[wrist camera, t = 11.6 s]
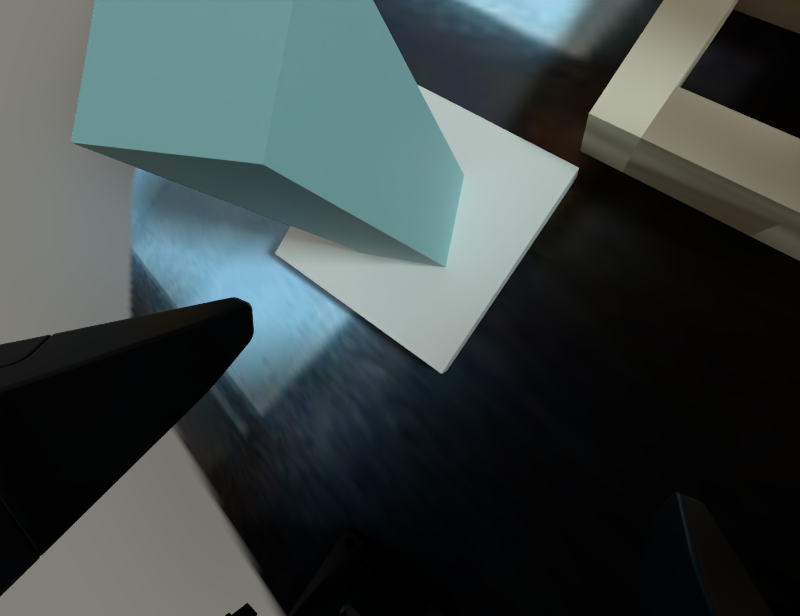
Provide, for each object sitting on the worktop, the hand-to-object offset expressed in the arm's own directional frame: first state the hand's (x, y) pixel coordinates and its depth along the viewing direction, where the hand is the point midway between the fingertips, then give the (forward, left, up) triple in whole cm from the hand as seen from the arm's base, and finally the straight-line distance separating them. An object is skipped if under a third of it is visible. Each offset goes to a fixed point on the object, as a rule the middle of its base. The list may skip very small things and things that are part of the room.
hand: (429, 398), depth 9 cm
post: (+3, +6, -10) cm, 12 cm away
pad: (+3, +6, -11) cm, 13 cm away
